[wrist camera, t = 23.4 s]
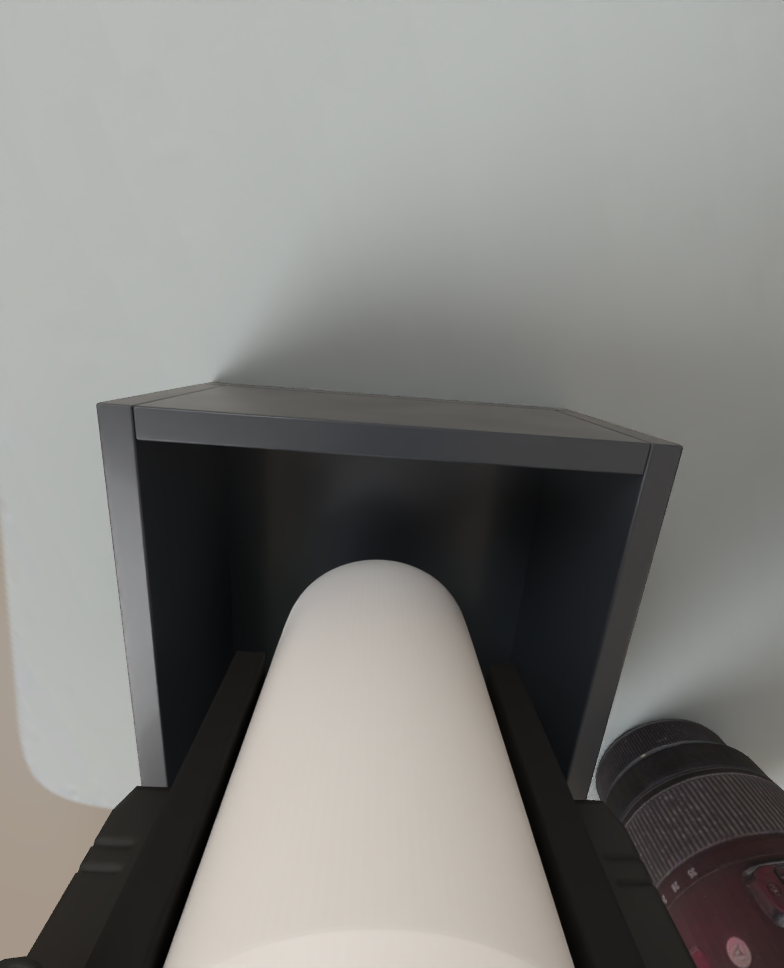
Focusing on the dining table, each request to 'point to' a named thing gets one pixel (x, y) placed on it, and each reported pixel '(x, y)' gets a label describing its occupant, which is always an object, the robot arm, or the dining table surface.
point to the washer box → (376, 538)
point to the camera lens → (704, 838)
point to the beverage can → (372, 801)
